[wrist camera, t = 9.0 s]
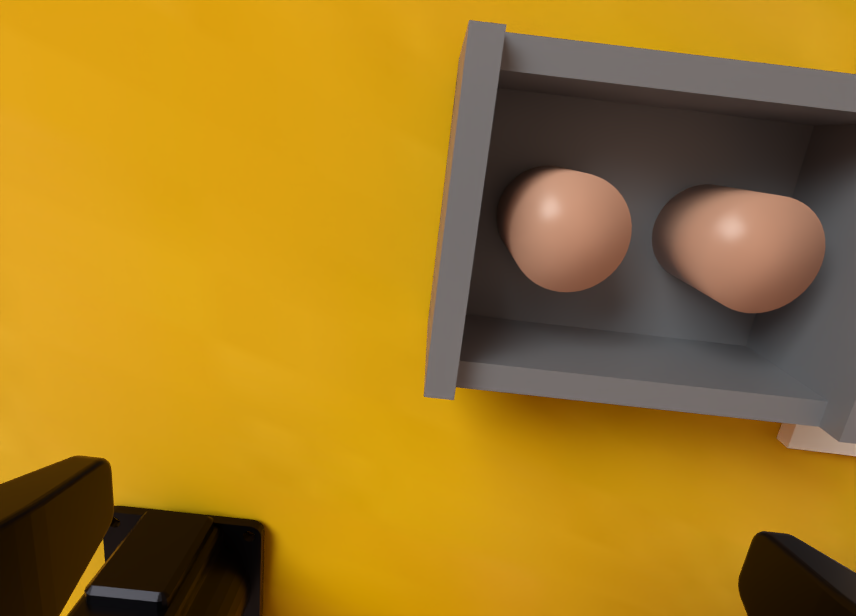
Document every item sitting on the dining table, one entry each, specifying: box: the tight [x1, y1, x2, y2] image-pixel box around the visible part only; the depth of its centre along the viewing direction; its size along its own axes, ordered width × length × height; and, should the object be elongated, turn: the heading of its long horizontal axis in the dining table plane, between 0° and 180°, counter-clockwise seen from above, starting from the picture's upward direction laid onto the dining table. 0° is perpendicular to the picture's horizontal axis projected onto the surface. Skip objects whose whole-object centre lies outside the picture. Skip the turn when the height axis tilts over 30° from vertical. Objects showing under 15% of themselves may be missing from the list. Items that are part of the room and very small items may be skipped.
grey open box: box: [424, 20, 856, 444], centre depth 16 cm, size 9×12×6 cm
